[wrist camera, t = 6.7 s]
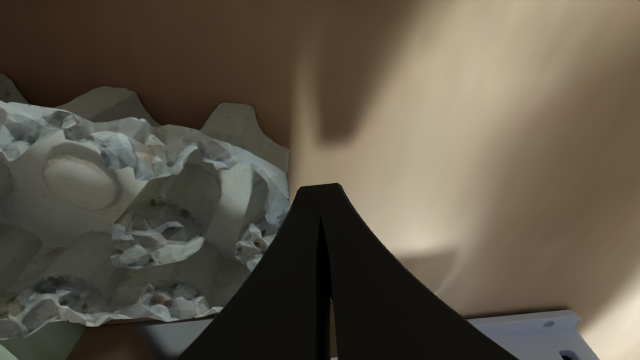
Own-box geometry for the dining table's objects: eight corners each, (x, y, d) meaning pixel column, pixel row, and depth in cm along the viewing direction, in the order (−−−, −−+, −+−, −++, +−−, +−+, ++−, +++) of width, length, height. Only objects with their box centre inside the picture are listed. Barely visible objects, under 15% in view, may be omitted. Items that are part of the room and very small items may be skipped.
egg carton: (3, 241, 12) (-125, 346, 8) (-94, 30, 8) (-410, 63, 4) (277, 272, 13) (266, 374, 10) (310, 107, 9) (310, 177, 6)
